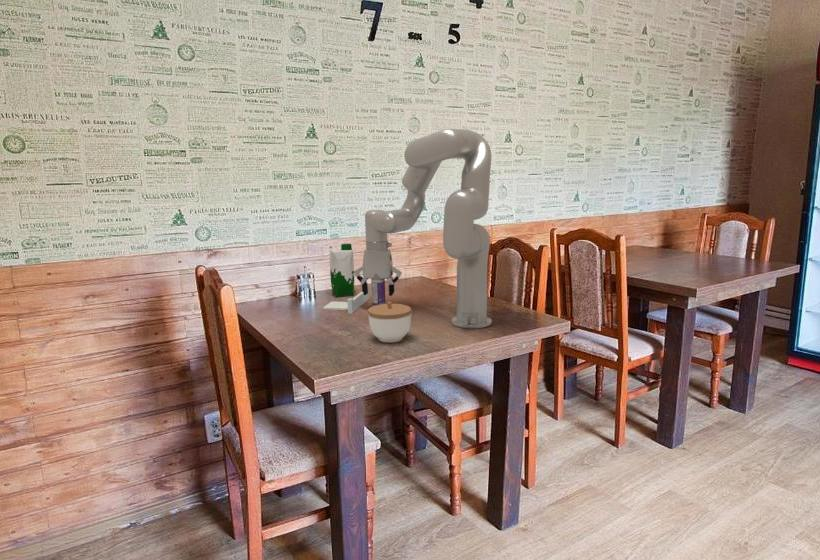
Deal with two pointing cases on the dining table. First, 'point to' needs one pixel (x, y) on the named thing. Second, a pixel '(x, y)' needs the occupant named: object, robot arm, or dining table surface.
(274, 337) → the dining table surface
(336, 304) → the white pad
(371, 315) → the lidded bowl
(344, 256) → the milk carton
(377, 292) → the container
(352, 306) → the acrylic wall
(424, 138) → the robot arm
